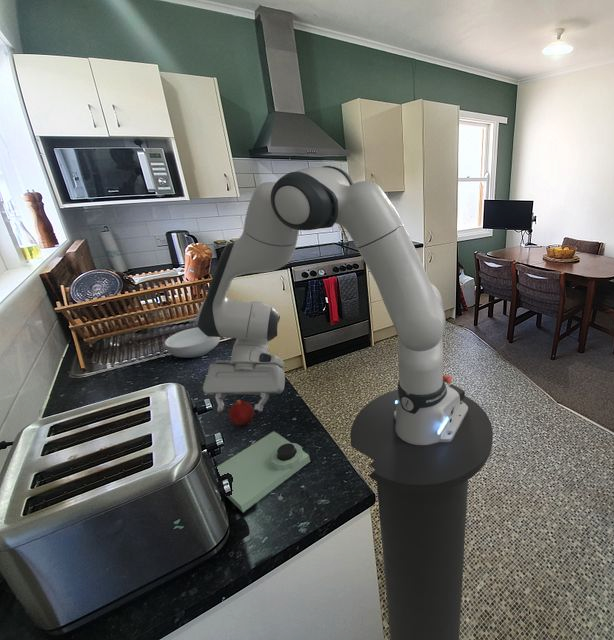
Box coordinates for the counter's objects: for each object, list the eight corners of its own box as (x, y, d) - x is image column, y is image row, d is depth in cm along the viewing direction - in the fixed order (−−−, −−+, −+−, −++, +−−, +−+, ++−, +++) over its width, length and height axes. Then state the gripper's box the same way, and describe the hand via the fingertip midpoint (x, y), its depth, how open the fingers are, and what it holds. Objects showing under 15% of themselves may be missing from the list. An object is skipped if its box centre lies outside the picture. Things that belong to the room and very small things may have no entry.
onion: (229, 423, 92) (222, 399, 89) (252, 414, 96) (246, 390, 92) (235, 435, 88) (228, 409, 85) (259, 425, 92) (253, 400, 88)
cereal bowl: (190, 342, 136) (185, 325, 134) (232, 342, 136) (227, 326, 133) (158, 364, 121) (152, 346, 118) (204, 365, 120) (199, 347, 117)
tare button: (289, 446, 80) (288, 441, 79) (298, 453, 78) (297, 447, 77) (275, 456, 77) (273, 450, 77) (284, 463, 75) (283, 457, 75)
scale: (275, 436, 87) (272, 425, 86) (311, 461, 80) (308, 450, 78) (209, 479, 75) (204, 467, 74) (243, 513, 68) (239, 500, 66)
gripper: (204, 357, 92) (191, 410, 86) (281, 356, 92) (273, 409, 87) (217, 363, 97) (206, 413, 92) (290, 362, 98) (283, 412, 93)
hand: (239, 411), depth 90 cm, fingers open, 8 cm apart
